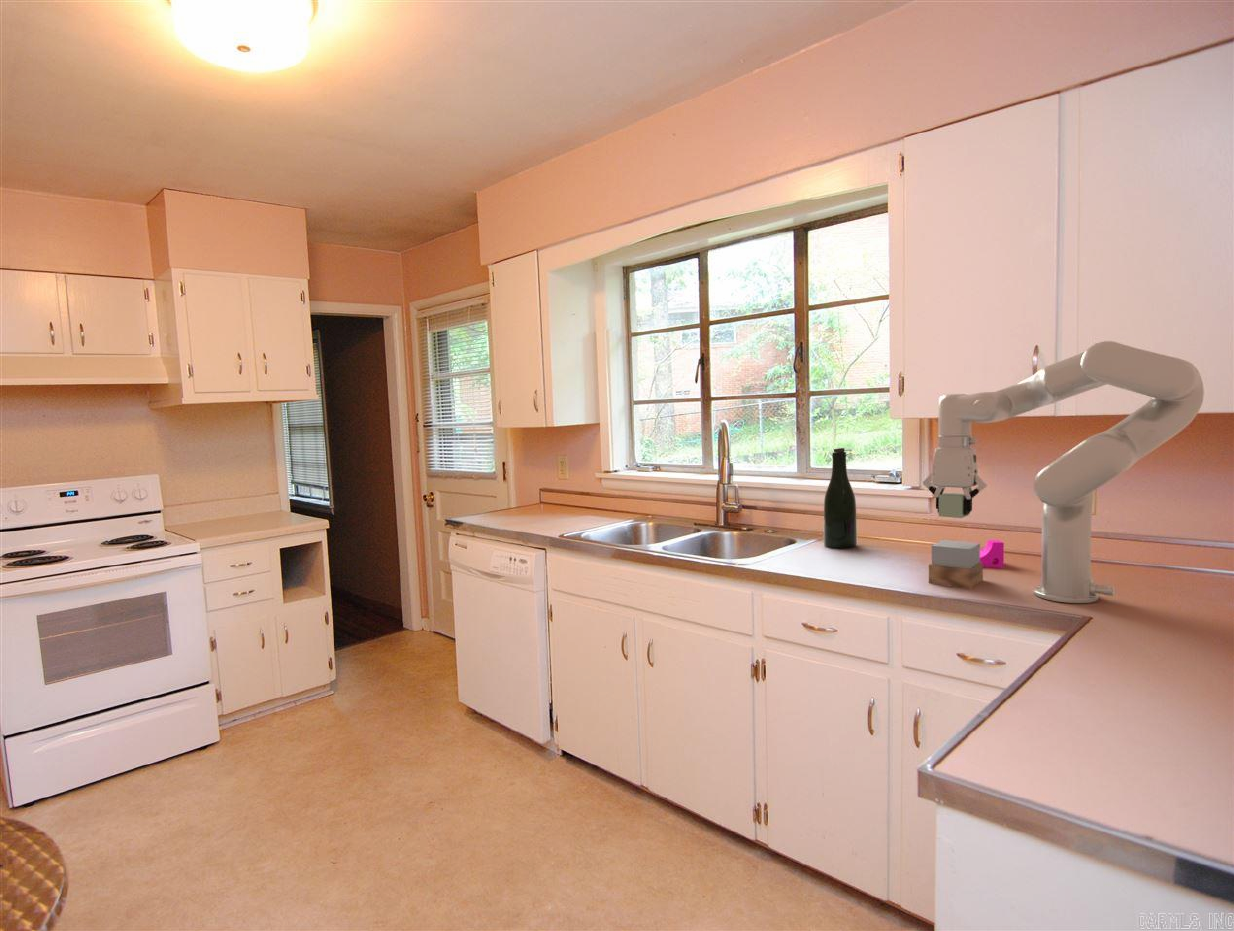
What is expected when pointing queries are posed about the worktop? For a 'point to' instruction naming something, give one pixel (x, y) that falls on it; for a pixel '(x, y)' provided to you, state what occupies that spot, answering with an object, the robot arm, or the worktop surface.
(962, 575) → the tower bottom
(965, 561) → the tower top
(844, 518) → the dark green wine bottle
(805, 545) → the worktop surface
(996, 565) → the toy block
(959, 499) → the sage cube
